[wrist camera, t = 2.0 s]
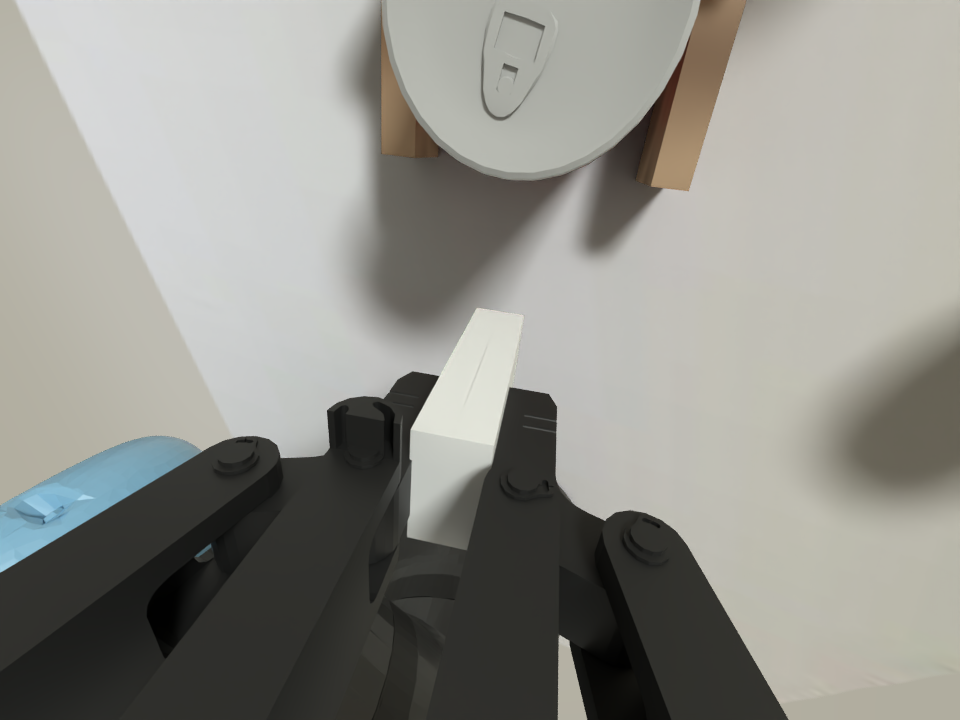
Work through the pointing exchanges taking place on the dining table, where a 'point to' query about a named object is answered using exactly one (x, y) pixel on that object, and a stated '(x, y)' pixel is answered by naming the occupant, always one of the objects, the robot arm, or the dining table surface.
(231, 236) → the dining table surface
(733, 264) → the dining table surface
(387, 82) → the chute
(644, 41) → the canned food
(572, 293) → the dining table surface
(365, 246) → the dining table surface
